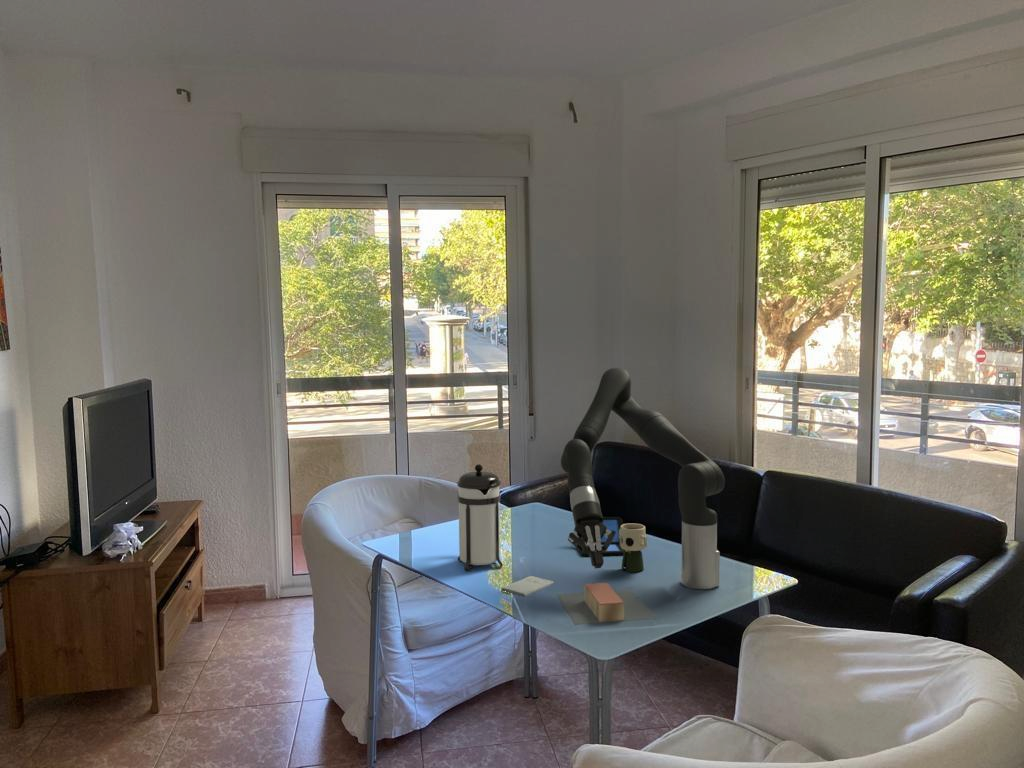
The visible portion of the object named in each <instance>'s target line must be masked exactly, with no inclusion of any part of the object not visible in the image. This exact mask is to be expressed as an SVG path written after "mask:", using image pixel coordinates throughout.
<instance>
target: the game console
mask: <svg viewBox="0 0 1024 768" xmlns="http://www.w3.org/2000/svg"><path fill="white" fill-rule="evenodd" d="M602 517H603V522H604V524H605V525H606V527H607V529H608V530H610V531H612V530H614V531H616V534H615V536H614V539H613V540H612V542H611V544H610V545H609V547H608V549H607V551H606V552H605V553H602V556H603V557H612V556H613V557H614V556H615V557H616V556H618V557H619V555H621V556H623V553H624V551H625V550H624V549H622V548H621V546H620V539H619V530H620V526H621V525H623V524H624V522H623V519H622V518H621V517H620V516H602ZM578 538H579V537H578ZM579 539H580V538H579ZM580 540H581V541H582V542H583V543H585V542H584V541H583V540H582V539H580ZM606 540H607V539H606V534H604V536H603V537H602V539H601V546H603V545H604V543H605V541H606ZM578 552H579V553H580V555H581V556H582V557H586V556H587V557H590V555H589V554H587V553H585V554H583V553H581V552H580V551H579V550H578Z"/></svg>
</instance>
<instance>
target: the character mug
mask: <svg viewBox="0 0 1024 768" xmlns="http://www.w3.org/2000/svg"><path fill="white" fill-rule="evenodd" d="M619 539H620V546H621V548H622V549H624V550H625V551H624V553H623V555H622V559H621V560H622V561H621V570H622V571H624V570H625V572H626V573H638V572H641V571H643V570H644V568H645V567H644V557H643V552H642V550H644V549H645V548H647V547H648V538H647V536H646V526H645V525H643V524H641V523H623V525H621V526H620V530H619Z"/></svg>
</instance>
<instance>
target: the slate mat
mask: <svg viewBox="0 0 1024 768" xmlns="http://www.w3.org/2000/svg"><path fill="white" fill-rule="evenodd" d="M614 592H615V593H616V594H617V595H618V596H619V597H620V599H621V600H622V601H623V602H624V620H619V621H605V622H599V620H598V619H597V618H596V616H595V615H594V613H593V612H592V611H591V609H590V608H589V607H588V605H587V604H586V602H585V601H584V592H575V593H572V592H571V593H561V594H558V593H556V596H557V598H558V600H559V601H560V603H561V604H562V606H563V608H564V609H565V611H566V612H567V614H568V615H569V617H570V619H571V620H572V622H573V623H574V625H586V624H587V625H588V624H603V623H616V622H630V621H642V620H655V619H656V620H657V619H658V618H657V617H656V615H655V614H654V613H653V612H652V611H651V610H650V609H649V608H648V607H647V606H646V605H645V604H644V603H643V601H641V599H640V598H639V597H638V596H637V595H636V594H635V593H634V592H633V590H631V589H621V590H620V589H619V590H618V589H617V590H614Z"/></svg>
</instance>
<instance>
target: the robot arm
mask: <svg viewBox="0 0 1024 768" xmlns="http://www.w3.org/2000/svg"><path fill="white" fill-rule="evenodd" d="M631 380H632V379H631V376H630V374H629V372H628V371H627V370H626V369H624V368H621V367H613V368H609V369H607V370H606V371H605V372H603V374H602V376H601V379H600V382H599V385H598V387H597V391H596V393H595V395H594V397H593V400H592V402H591V404H590V405H589V407H588V410H586V413H585V414H584V416H583V418H582V419H581V421H580V423H579V425H578V426H577V428H576V430H575V433H574V435H573V437H572V439H570V440H568V442H567V443H566V444H565V446H564V449H563V451H562V455H561V457H560V466H561V469H562V470H563V471H564V472H565V473H567V487H568V492H569V499H570V502H569V503H570V508H571V512H572V517H573V523H574V528H573V531H572V532H569V534H568V537H567V541H568V542H569V543H570V544H571V545H573V546H574V547H575V548H576V550H578V552H579V551H580V552H581V553H583V554H585V553H587V554H589V555H590V556H589V558H590V563H591V566H592V567H594V569H601V568H602V566H603V565H604V562H605V561H604V556H602V553H605V552H606V551H607V549H608V547H609V545H610V544H611V542H612V540H613V539H614V536H615V534H616V531H614V530H612V531H610V530H608V529H607V527H606V525H605V524H604V522H603V517H604V516H603V513H602V509H601V504H600V499H599V497H598V494H597V491H596V488H595V484H594V483H595V482H594V478H593V473H592V472H593V468H592V467H593V465H592V452H593V450H594V448H595V447H596V445H597V444H598V442H599V440H600V439H601V437H602V435H603V433H604V432H605V429H606V427H607V425H608V421H609V418H610V415H611V412H614V413H615V414H616V415H617V416H618V417H619V418H621V419H622V420H623V421H624V422H625V423H626V424H627V425H628V426H629V427H630V428H631V429H632V431H633V432H634V433H635V434H637V435H638V437H639V438H640V439H641V440H642V441H643V442H644V443H645V444H646V445H647V447H649V448H650V450H652V451H653V452H655V453H657V454H659V455H660V456H662V457H665V458H666V459H668V460H671V461H673V462H675V463H676V464H679V466H680V467H681V469H680V470H679V472H678V479H677V488H678V489H677V490H678V508H679V512H680V515H681V569H680V570H681V575H680V576H681V578H680V579H681V584H682V585H683V587H686V588H688V589H689V588H690V589H693V590H711V589H713V588H716V587H720V565H721V563H720V562H721V560H720V559H721V557H720V555H721V554H720V553H721V552H720V551H719V550H718V547H717V546H718V513H717V512H716V511H715V510H714V509H711V508H709V507H707V503H706V497H710V496H714V495H716V494H719V493H721V492H722V491H723V490H724V488H725V485H726V480H725V475H724V473H723V471H722V469H721V467H719V465H718V464H717V463H716V462H714V461H713V460H712V459H711V458H710V457H708V456H707V455H706V454H704V453H703V452H702V451H701V450H699V449H698V448H697V447H696V446H695V445H693V444H692V443H691V442H690V440H688V439H687V438H686V437H685V436H684V435H683V434H682V433H681V432H680V431H679V430H678V429H677V428H676V427H675V426H674V425H673V424H672V422H670V421H669V420H668V419H667V418H666V417H665V416H664V415H663V414H662V413H661V412H658V411H656V410H654V409H646V408H643V407H642V406H641V405H639V404H638V402H637V401H635V399H634V398H633V396H632V395H631V391H632V388H631V387H632V381H631ZM604 534H606V539H607V540H606V541H605V543H604V545H603V546H601V539H602V537H603V536H604ZM578 537H579V538H580V539H582V540H583V541H584V542H585V543H583V542H582V541H581V540H580V539H579V538H578ZM580 552H579V553H580ZM581 553H580V554H581Z"/></svg>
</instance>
